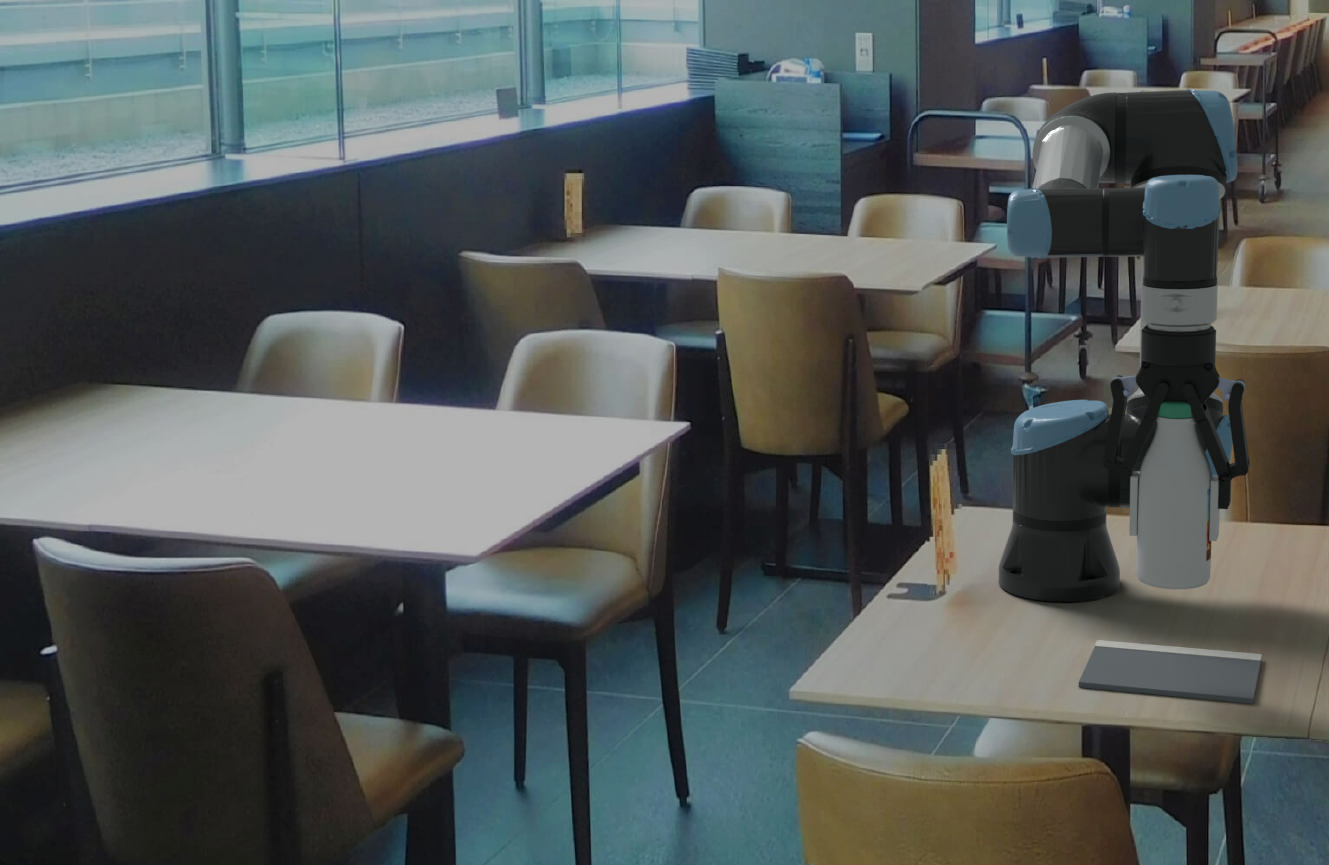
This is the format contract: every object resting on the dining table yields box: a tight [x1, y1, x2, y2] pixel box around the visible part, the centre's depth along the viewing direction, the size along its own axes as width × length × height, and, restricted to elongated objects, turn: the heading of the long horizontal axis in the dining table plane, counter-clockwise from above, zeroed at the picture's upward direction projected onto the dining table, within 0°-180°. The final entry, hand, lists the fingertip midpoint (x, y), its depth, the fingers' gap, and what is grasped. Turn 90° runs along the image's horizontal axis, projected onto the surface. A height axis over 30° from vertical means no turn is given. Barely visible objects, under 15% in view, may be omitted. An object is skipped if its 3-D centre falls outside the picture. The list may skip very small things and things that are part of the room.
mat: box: [1078, 639, 1263, 705], centre depth 196 cm, size 18×14×1 cm
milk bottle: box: [1135, 401, 1212, 590], centre depth 190 cm, size 8×8×20 cm
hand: (1173, 534), depth 191 cm, fingers closed on milk bottle, 7 cm apart
